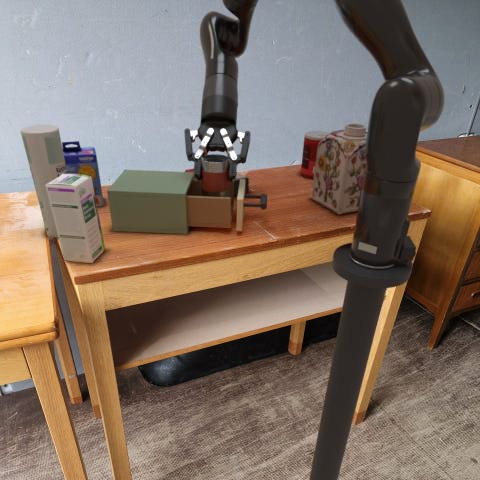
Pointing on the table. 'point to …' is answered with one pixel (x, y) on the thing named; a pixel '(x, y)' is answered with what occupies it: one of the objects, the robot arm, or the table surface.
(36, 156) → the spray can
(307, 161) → the canned food
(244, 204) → the drawer
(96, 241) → the syrup box
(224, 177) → the tin
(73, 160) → the ink cartridge box
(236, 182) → the red and beige packet
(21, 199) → the table surface
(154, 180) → the cabinet
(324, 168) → the decorative jar
